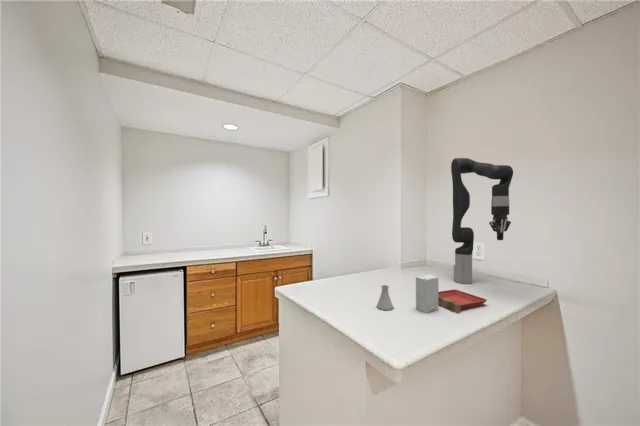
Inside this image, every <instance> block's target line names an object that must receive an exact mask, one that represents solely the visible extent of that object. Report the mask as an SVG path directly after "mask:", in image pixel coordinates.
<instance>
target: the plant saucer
mask: <svg viewBox="0 0 640 426" xmlns="http://www.w3.org/2000/svg"><path fill="white" fill-rule="evenodd" d="M438 296H441V297H443V298H446V299H448V300H451V301H454V302H456V303H459V304H461V310H464V309H469V308H470V309H471V308H473V307H478V306H482V305H483V304H485V303H486V302H487V301H488V299H486V298H484V297H480V296H477V295H474V294H471V293H467V292H465V291H461V290H458V289H455V288H453V289H447V290H441V291H440V290H439V291H438Z"/></svg>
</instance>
